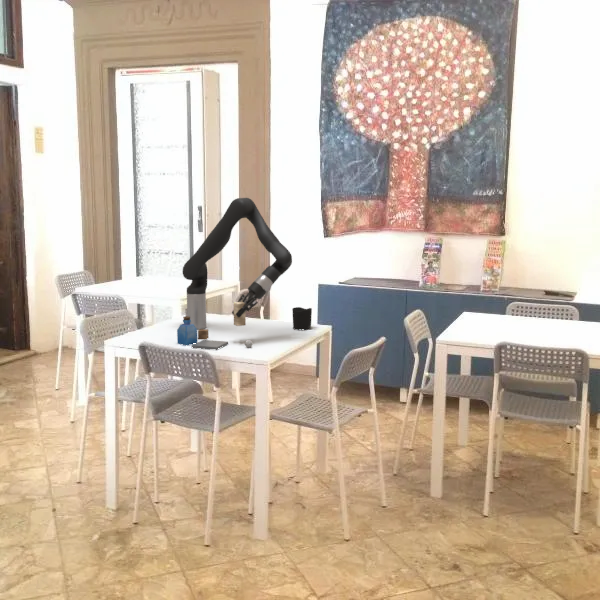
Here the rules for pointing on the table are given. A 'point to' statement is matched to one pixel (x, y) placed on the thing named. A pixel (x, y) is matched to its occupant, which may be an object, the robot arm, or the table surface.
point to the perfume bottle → (187, 332)
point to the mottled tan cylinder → (242, 319)
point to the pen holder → (302, 318)
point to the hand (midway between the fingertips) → (235, 315)
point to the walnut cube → (202, 333)
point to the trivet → (209, 344)
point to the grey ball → (248, 343)
